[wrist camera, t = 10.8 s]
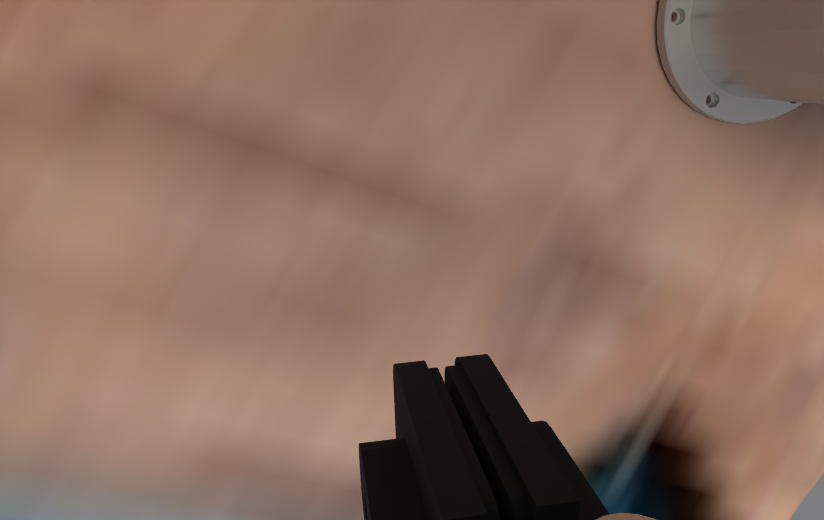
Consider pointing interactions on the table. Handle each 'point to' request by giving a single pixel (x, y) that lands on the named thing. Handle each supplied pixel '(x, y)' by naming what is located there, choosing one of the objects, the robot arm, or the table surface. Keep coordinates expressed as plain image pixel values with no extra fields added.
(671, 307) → the table surface
